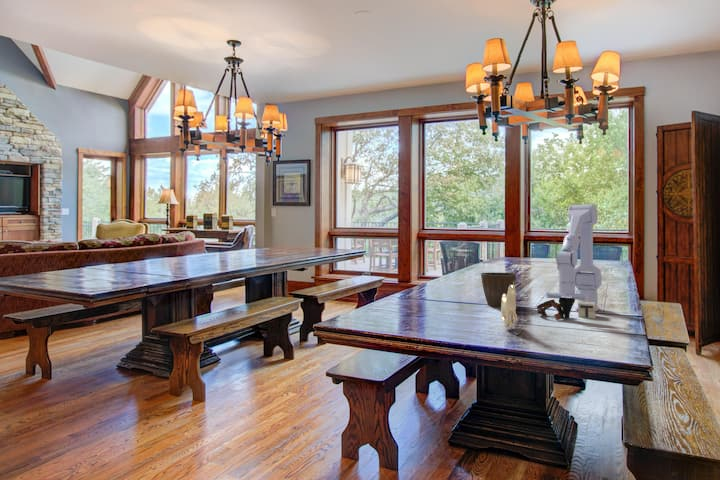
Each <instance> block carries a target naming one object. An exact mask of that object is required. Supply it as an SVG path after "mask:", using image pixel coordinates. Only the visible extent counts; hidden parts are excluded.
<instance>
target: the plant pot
mask: <svg viewBox="0 0 720 480" xmlns="http://www.w3.org/2000/svg"><path fill="white" fill-rule="evenodd" d="M480 276H481V283H482V289H483V293H484V298H485V300H486V303H487V306H488V307H490V306H491V307H493V308H500V309H501V302H502V301H501V299H502V296H503V294H506V295H507V293H508V288H509V285H513V282H514V285H515V284H516V280H517V273H512V272H481V273H480ZM491 307H490V308H491Z"/></svg>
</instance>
